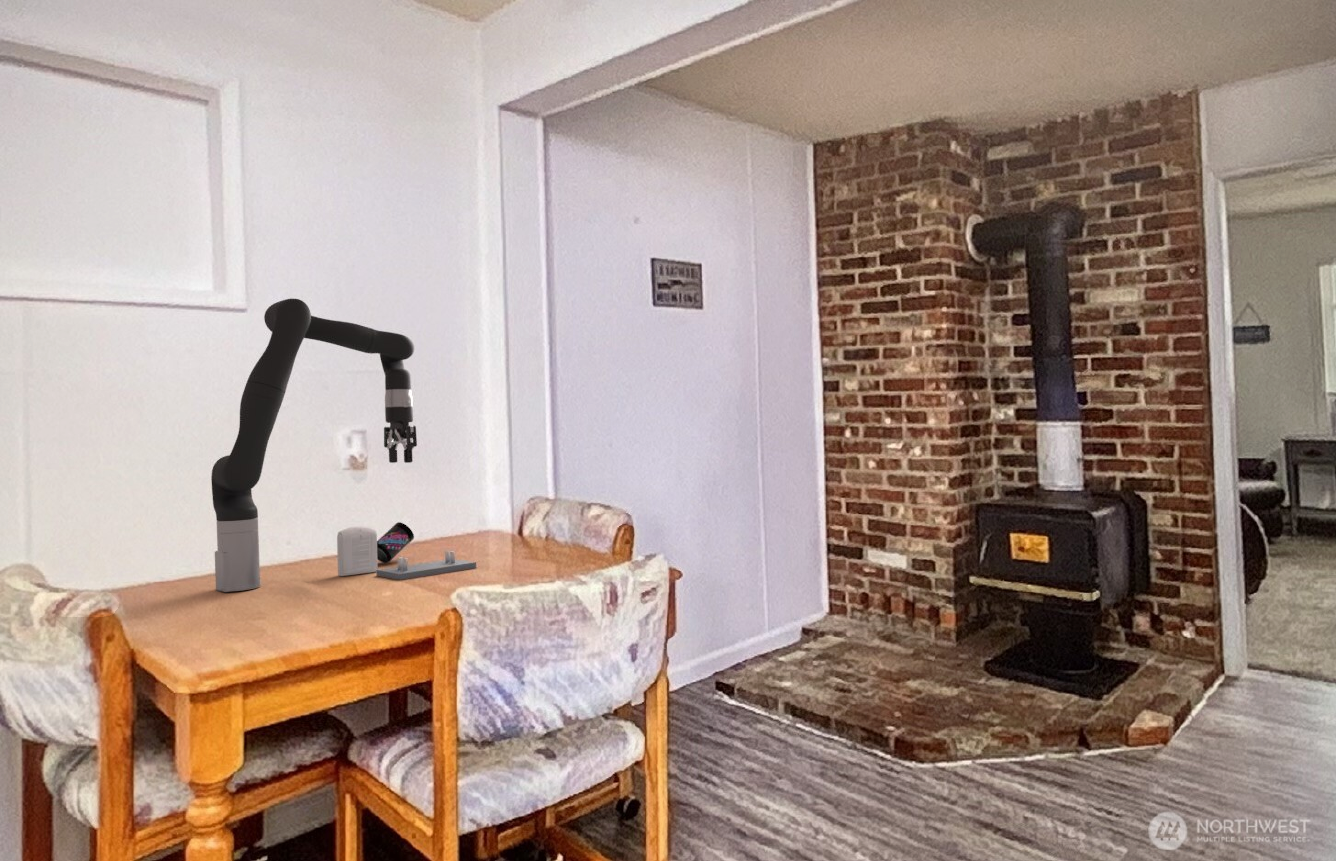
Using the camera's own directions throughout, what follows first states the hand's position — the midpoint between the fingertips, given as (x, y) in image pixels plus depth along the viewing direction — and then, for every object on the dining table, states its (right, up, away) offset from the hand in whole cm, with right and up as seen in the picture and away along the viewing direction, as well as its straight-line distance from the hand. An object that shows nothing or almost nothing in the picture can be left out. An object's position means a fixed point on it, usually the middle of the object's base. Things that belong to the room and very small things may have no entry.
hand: (400, 462), depth 248 cm
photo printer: (-5, -29, -21) cm, 36 cm away
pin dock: (+14, -28, -22) cm, 38 cm away
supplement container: (-3, -28, -5) cm, 29 cm away
